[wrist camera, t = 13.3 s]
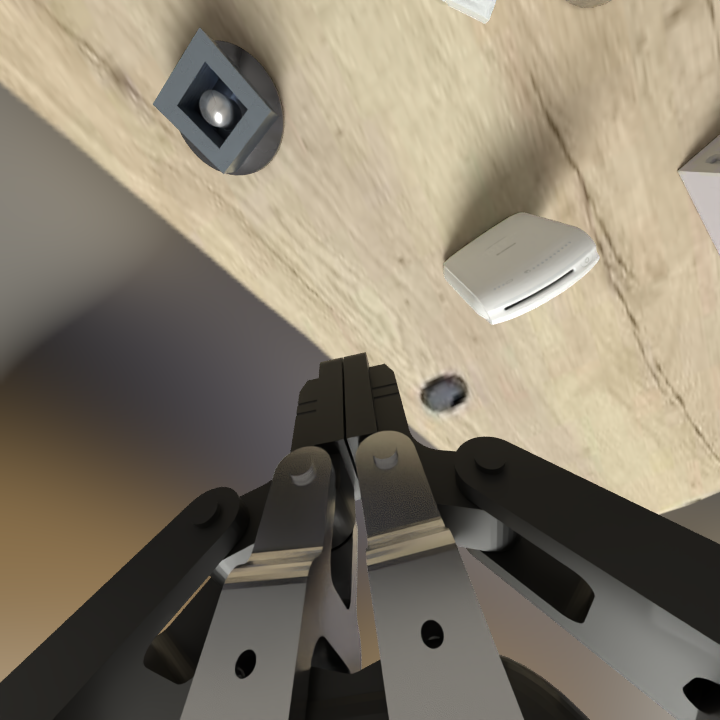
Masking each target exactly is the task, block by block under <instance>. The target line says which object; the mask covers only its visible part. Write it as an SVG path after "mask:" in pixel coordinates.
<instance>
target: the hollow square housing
mask: <svg viewBox="0 0 720 720" xmlns="http://www.w3.org/2000/svg"><path fill="white" fill-rule="evenodd" d="M219 78H220V79H221V80H222V81H223V82H224V83H225V84H226V85H227V86H228V88H229V89H230V90H231V91H232V92H233V93H234V94H235V95H236V97H237V98H238V99H239V100H240V101H241V102H242V103H243V104H244V106H245V107H246V108H247V109H248V110H247V112H246V113H245V114H244V116H243V117H242V118H241V120H240V121H239V123H238V124H237V125H236V127H235V128H234V129H233V131H232V132H231V134H230V135H229V136H228V138H227V139H226V140H224V139H223V138H222V137H221V136H220V135H219V134H218V133H217V132H216V131H215V130H214V129H213V128H212V127H211V126H210V125H209V124H208V123H207V122H206V121H205V120H204V119H203V118H202V117H201V116H200V115H199V113H198V112H197V111H198V109H199V108H200V98H201V96H202V94H203V93H204V92H205V91H208V90H212V88H213V87H214V85H215V84H216V82H217V81H218V79H219ZM153 105H154V106H155V107H156V108H157V109H158V110H159V111H160V112H161V113H162V114H163V115H164V116H165V117H166V118H167V119H168V120H169V121H170V122H171V123H172V124H173V125H174V126H175V127H176V128H177V129H178V130H179V131H180V132H181V133H182V134H183V135H185V136H186V137H187V138H188V139H189V140H190V141H191V142H192V143H193V144H194V145H195V146H196V147H197V148H198V149H199V150H200V151H201V152H202V153H203V154H204V155H205V156H206V157H207V158H208V159H209V160H210V161H211V162H212V163H213V164H214V165H215V166H216V167H217V168H218V169H219V170H220V171H221V172H222V173H223V174H226V173H232V172H237V170H238V169H239V168H240V166H241V165H242V164H243V163H244V161H245V160H246V159H247V157H248V156H249V155H250V153H251V152H252V151H253V150H254V148H255V147H256V146H257V144H258V143H259V142H260V141H261V139H262V138H263V137H264V135H265V134H266V133H267V131H268V130H269V129H270V128H271V126H272V125H273V124H274V122H275V121H276V120H277V118H278V117H279V115H278V114H277V113H276V112H275V111H274V110H273V108H272V107H271V106H270V105H269V104H268V103H267V101H266V100H265V99H264V98H263V97H262V95H261V94H260V93H259V92H258V91H257V90H256V88H255V87H254V86H253V85H252V84H251V83H250V81H249V80H248V79H247V78H246V77H245V76H244V74H243V73H242V72H241V71H240V70H239V68H238V67H237V66H236V65H235V64H234V63H233V61H232V60H231V59H230V58H229V57H228V56H227V54H226V53H225V52H224V51H223V50H222V49H221V47H220V46H219V45H218V44H217V43H216V42H215V41H214V40H213V39H212V38H211V37H209V36H208V35H207V34H206V33H205V32H204V31H203V30H202V29H201V28H200V27H199V29H198V31H197V32H196V34H195V36H194V37H193V39H192V41H191V42H190V44H189V46H188V47H187V49H186V50H185V52H184V54H183V55H182V57H181V59H180V60H179V62H178V64H177V65H176V67H175V68H174V70H173V72H172V73H171V75H170V77H169V78H168V80H167V82H166V83H165V85H164V87H163V88H162V90H161V91H160V93H159V95H158V96H157V98H156V100H155V101H154V103H153Z"/></svg>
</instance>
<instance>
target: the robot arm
mask: <svg viewBox="0 0 720 720" xmlns="http://www.w3.org/2000/svg"><path fill="white" fill-rule="evenodd" d="M566 1H568V2H569V3H570V4H573V5H576V6H579V7H596V6H599V5H603V4H606V3H607V2H609V1H611V0H566ZM359 499H361V500H362V507H363V514H364V520H365V527H366V533H367V540H368V548H366V561H367V568H368V576H369V583H370V590H371V596H372V604H373V611H374V617H375V624H376V631H377V638H378V645H379V652H380V660H379V661H377V662H375V663H373V664H371V665H369V666H367V667H366V668H364V669H362V670H361V643H360V634H359V628H358V622H357V611H356V601H357V598H356V597H357V542H358V527H357V523H356V520H355V500H359ZM457 546H460V547H466V549H467V550H468V551H469V553H470V554H472V555H473V556H474V557H475V558H476V559H477V560H479V561H480V562H481V563H482V564H484V565H485V566H486V567H487V568H489V569H490V570H491V571H493V572H494V573H495V574H496V575H497V576H499V577H500V578H501V579H502V580H504V581H505V582H506V583H507V584H509V585H510V586H511V587H512V588H514V589H515V590H516V591H517V592H519V593H520V594H521V595H522V596H524V597H525V598H526V599H527V600H529V601H530V602H531V603H532V604H533V605H535V606H536V607H537V608H539V609H540V610H541V611H542V612H543V613H545V614H546V615H547V616H549V617H550V618H551V619H552V620H554V621H555V622H556V623H557V624H559V625H560V626H561V627H562V628H563V629H565V630H566V631H567V632H568V633H570V634H571V635H572V636H573V637H575V638H576V639H577V640H578V641H580V642H581V643H582V644H583V645H585V646H586V647H587V648H588V649H590V650H591V651H592V652H593V653H595V654H596V655H597V656H598V657H600V658H601V659H602V660H603V661H605V662H606V663H607V664H608V665H610V666H611V667H612V668H613V669H614V670H616V671H617V672H618V673H620V674H621V675H622V676H623V677H624V678H626V679H627V680H628V681H630V682H631V683H632V684H633V685H634V686H636V687H637V688H638V689H639V690H641V691H642V692H643V693H644V694H646V695H647V696H648V697H649V698H651V699H652V700H653V701H655V702H656V703H657V704H658V705H659V706H661V707H662V708H663V709H665V710H666V711H667V712H668V713H669V714H671V715H672V716H673V717H674V718H676V719H677V720H720V544H718V543H716V542H714V541H712V540H710V539H708V538H705V537H703V536H702V535H699V534H697V533H695V532H693V531H691V530H689V529H687V528H685V527H683V526H681V525H679V524H677V523H674V522H672V521H670V520H668V519H666V518H664V517H662V516H660V515H658V514H656V513H654V512H652V511H650V510H648V509H646V508H644V507H642V506H639V505H637V504H635V503H633V502H631V501H629V500H627V499H625V498H623V497H621V496H619V495H617V494H615V493H613V492H611V491H608V490H606V489H604V488H602V487H600V486H598V485H596V484H594V483H592V482H590V481H588V480H586V479H584V478H582V477H579V476H577V475H575V474H573V473H571V472H569V471H567V470H565V469H563V468H561V467H559V466H557V465H555V464H553V463H551V462H548V461H546V460H544V459H542V458H540V457H538V456H536V455H534V454H532V453H530V452H528V451H526V450H524V449H522V448H519V447H517V446H515V445H513V444H511V443H509V442H507V441H505V440H502V439H499V438H494V437H477V438H473V439H470V440H468V441H466V442H465V443H463V444H462V445H461V446H460V447H459V448H458V450H457V451H443V450H435V449H431V448H428V447H425V446H423V445H422V444H420V443H419V442H417V441H416V440H415V439H414V438H413V437H412V435H411V433H410V431H409V428H408V424H407V420H406V416H405V413H404V409H403V405H402V401H401V397H400V394H399V390H398V386H397V382H396V379H395V375H394V372H393V371H392V370H391V369H390V368H389V367H388V366H387V365H385V364H382V365H377V366H373V367H369V363H368V359H367V355H366V352H365V353H360V354H356V355H351V356H347V357H344V360H343V358H338V359H333V360H329V361H324V362H321V363H320V369H319V378H318V379H313V380H309V381H307V382H306V384H305V385H304V387H303V388H302V390H301V391H300V394H299V401H298V407H297V416H296V420H295V426H294V433H293V439H292V447H291V452H290V454H288V455H287V456H286V457H284V458H283V459H282V461H281V462H280V463H279V464H278V466H277V468H276V469H275V472H274V475H273V478H272V480H271V481H269V482H268V483H267V484H265V485H263V486H261V487H259V488H257V489H255V490H253V491H250V492H248V493H246V494H244V495H242V496H240V497H239V496H238V494H237V493H236V492H235V491H234V490H233V489H231V488H227V487H219V488H215V489H211V490H209V491H207V492H205V493H204V494H202V495H200V496H199V497H197V498H196V499H195V500H194V501H193V502H191V503H190V504H189V505H188V506H187V507H186V508H185V509H184V510H183V511H182V512H181V513H180V514H179V515H178V516H176V517H175V518H174V519H173V520H172V521H171V522H170V523H169V524H168V525H167V526H166V527H165V528H164V529H163V530H162V531H161V532H160V533H159V534H157V535H156V536H155V537H154V538H153V539H152V540H151V541H150V542H149V543H148V544H147V545H146V546H145V547H144V548H143V549H142V550H140V551H139V552H138V553H137V554H136V555H135V556H134V557H133V558H132V559H131V560H130V561H129V562H128V563H127V564H126V565H125V566H123V567H122V568H121V569H120V570H119V571H118V572H117V573H116V574H115V575H114V576H113V577H112V578H111V579H110V580H109V581H108V582H107V583H105V584H104V585H103V586H102V587H101V588H100V589H99V590H98V591H97V592H96V593H95V594H94V595H93V596H92V597H91V598H90V599H89V600H87V601H86V602H85V603H84V604H83V605H82V606H81V607H80V608H79V609H78V610H77V611H76V612H75V613H74V614H73V615H72V616H70V617H69V619H67V620H66V621H65V622H64V623H63V624H62V625H61V626H60V627H59V628H58V629H57V630H56V631H55V632H54V633H52V634H51V635H50V636H49V637H48V638H47V639H46V640H45V641H44V642H43V643H42V644H41V645H40V646H39V647H38V648H37V649H36V650H34V651H33V653H31V654H30V655H29V656H28V657H27V658H26V659H25V660H24V661H23V662H22V663H21V664H20V665H19V666H18V667H17V668H15V669H14V670H13V671H12V672H11V673H10V674H9V675H8V676H7V677H6V678H5V679H4V680H3V681H2V682H1V683H0V720H590V719H589V718H587V716H586V715H585V714H584V713H583V712H582V711H580V709H578V708H577V707H576V706H575V705H574V704H573V703H572V702H571V701H570V700H569V699H568V698H567V697H566V696H565V695H564V694H563V693H562V692H560V691H559V690H558V689H557V688H555V687H554V686H553V685H552V684H550V683H549V682H548V681H546V680H545V679H544V678H543V677H541V676H539V675H538V674H537V673H535V672H533V671H532V670H530V669H529V668H527V667H526V666H524V665H522V664H520V663H518V662H516V661H514V660H512V659H510V658H508V657H505V656H502V655H499V654H498V651H497V649H496V646H495V643H494V641H493V638H492V636H491V633H490V630H489V628H488V625H487V623H486V620H485V618H484V615H483V613H482V610H481V607H480V605H479V602H478V599H477V597H476V594H475V591H474V589H473V586H472V584H471V581H470V579H469V576H468V573H467V571H466V568H465V566H464V563H463V561H462V558H461V555H460V553H459V550H458V548H457ZM209 575H210V576H211V578H210V579H209V580H208V582H207V583H206V584H205V585H204V586H203V587H202V589H201V590H200V591H199V592H198V593H197V594H196V596H195V597H194V598H193V599H192V600H191V601H190V603H189V604H188V605H187V606H186V607H185V609H183V611H182V612H181V613H180V614H179V615H178V617H177V618H176V619H175V620H174V621H173V622H172V623H171V625H170V626H169V627H168V628H167V629H166V630H165V631H163V632H162V633H161V634H159V633H160V631H161V630H162V629H163V628H164V627H165V626H166V624H167V623H168V622H169V621H170V620H171V619H172V618H173V616H174V615H175V614H176V613H177V612H178V611H179V610H180V608H181V607H182V606H183V605H184V604H185V603H186V601H187V600H188V599H189V598H190V597H191V596H192V595H193V593H194V592H195V591H196V590H197V589H198V588H199V587H200V585H201V584H202V583H203V582H204V581H205V579H207V577H208V576H209ZM158 634H159V635H158Z"/></svg>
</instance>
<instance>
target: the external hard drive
mask: <svg viewBox="0 0 720 720" xmlns="http://www.w3.org/2000/svg"><path fill="white" fill-rule="evenodd" d="M442 1H444V2H446V3H447V4H448V6H450V7H452V8H454V9H456V10H458V11H460V12H462V13H464V14H466V15H468V16H470V17H472V18H474V19H476V20H478V21H480V22H482V23H484V24H485V23H487V22H488V21H489V19H490V16H491V14H492V11H493V8H494V6H495V3H496V0H442Z"/></svg>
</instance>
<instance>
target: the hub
mask: <svg viewBox="0 0 720 720" xmlns="http://www.w3.org/2000/svg"><path fill="white" fill-rule="evenodd" d="M214 41H215V42H216V43H217V44H218V45H219V46H220V47H221V49H222V50H223V51H224V52H225V53H226V54H227V56H228V57H229V58H230V59H231V60H232V61H233V63H234V64H235V65H236V66H237V67H238V68H239V70H240V71H241V72H242V73H243V74H244V76H245V77H246V78H247V79H248V80H249V81H250V83H251V84H252V85H253V86H254V87H255V88H256V90H257V91H258V92H259V93H260V94H261V95H262V97H263V98H264V99H265V100H266V101H267V103H268V104H269V105H270V106H271V107H272V108H273V110H274V111H275V112H276V113H277V114H278V115H279V117H278V118H277V120H276V121H275V122H274V124H273V125H272V126H271V128H270V129H269V130H268V131H267V133H266V134H265V135H264V137H263V138H262V139H261V141H260V142H259V143H258V144H257V146H256V147H255V148H254V150H253V151H252V152H251V153H250V155H249V156H248V157H247V159H246V160H245V161H244V163H243V164H242V165H241V166H240V168H239V169H238V170H237V172H232V173H226V174H231V175H246V174H251V173H254V172H257V171H259V170H261V169H263V168H264V167H266V166H267V165H268V164H269V163H270V162H271V161H272V160H273V158H274V157H275V156H276V154H277V152H278V150H279V148H280V145H281V142H282V138H283V132H284V114H283V108H282V103H281V100H280V97H279V94H278V91H277V89H276V87H275V85H274V83H273V81H272V79H271V78H270V76H269V75H268V73H267V72H266V70H265V69H264V68H263V67H262V66H261V64H260V63H259V62H258V61H257V60H256V59H255V58H254V57H253V56H251V55H250V54H249V53H248V52H246V51H245V50H243V49H242V48H240V47H238V46H236V45H234V44H231V43H228V42H224V41H218V40H214ZM247 110H248V109H247V108H246V107H245V106H244V104H243V103H242V102H241V101H240V100H239V99H238V98H237V97H236V95H235V94H234V93H233V92H232V91H231V90H230V89H229V88H228V86H227V85H226V84H225V83H224V82H223V81H222V80H221V79H220V78H219V79H218V81H217V82H216V84H215V85H214V87H213V88H212V90H208V91H205V92H204V93H203V94H202V96H201V98H200V108H199V109H198V111H197V112H198V113H199V115H200V116H201V117H202V118H203V119H204V120H205V121H206V122H207V123H208V124H209V125H210V126H211V127H212V128H213V129H214V130H215V131H216V132H217V133H218V134H219V135H220V136H221V137H222V138H223V139H224V140H226V139H227V138H228V136H229V135H230V134H231V132H232V131H233V129H234V128H235V127H236V125H237V124H238V123H239V121H240V120H241V118H242V117H243V116H244V114H245V113H246V112H247ZM180 133H181V132H180ZM181 135H182V137H183V138H184V140H185V141H186V143H187V144H188V146H189V147H190V148H191V150H192V151H193V152H194V153H195V154H196V155H197V156H198V157H199V158H200V159H201V160H202V161H203V162H205V163H206V164H207V165H209V166H210V167H212V168H214V169H216V170H218V171H220V170H219V169H218V168H217V167H216V166H215V165H214V164H213V163H212V162H211V161H210V160H209V159H208V158H207V157H206V156H205V155H204V154H203V153H202V152H201V151H200V150H199V149H198V148H197V147H196V146H195V145H194V144H193V143H192V142H191V141H190V140H189V139H188V138H187V137H186V136H185V135H183V134H182V133H181ZM220 172H221V171H220Z"/></svg>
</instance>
